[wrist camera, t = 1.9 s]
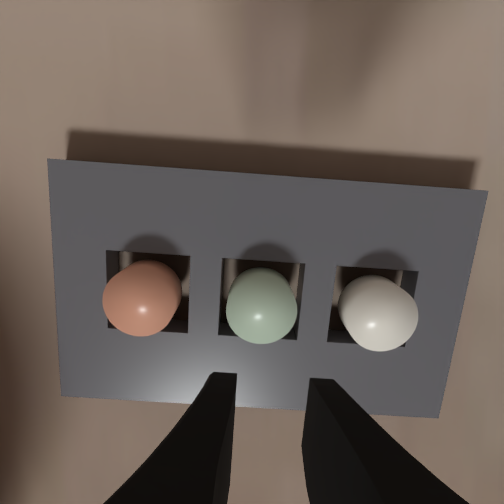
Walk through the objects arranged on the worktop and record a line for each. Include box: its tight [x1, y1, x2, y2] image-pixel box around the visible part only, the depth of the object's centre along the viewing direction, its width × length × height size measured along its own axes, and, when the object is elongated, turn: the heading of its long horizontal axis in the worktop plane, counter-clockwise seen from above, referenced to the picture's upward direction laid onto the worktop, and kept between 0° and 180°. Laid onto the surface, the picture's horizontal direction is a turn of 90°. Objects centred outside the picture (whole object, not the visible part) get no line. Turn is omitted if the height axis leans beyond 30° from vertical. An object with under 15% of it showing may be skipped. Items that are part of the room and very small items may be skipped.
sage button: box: [226, 267, 297, 344], centre depth 16 cm, size 3×3×2 cm
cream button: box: [338, 275, 418, 351], centre depth 16 cm, size 3×3×2 cm
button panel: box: [47, 159, 488, 418], centre depth 17 cm, size 20×12×2 cm, turn 86°
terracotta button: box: [102, 260, 182, 336], centre depth 15 cm, size 3×3×2 cm
